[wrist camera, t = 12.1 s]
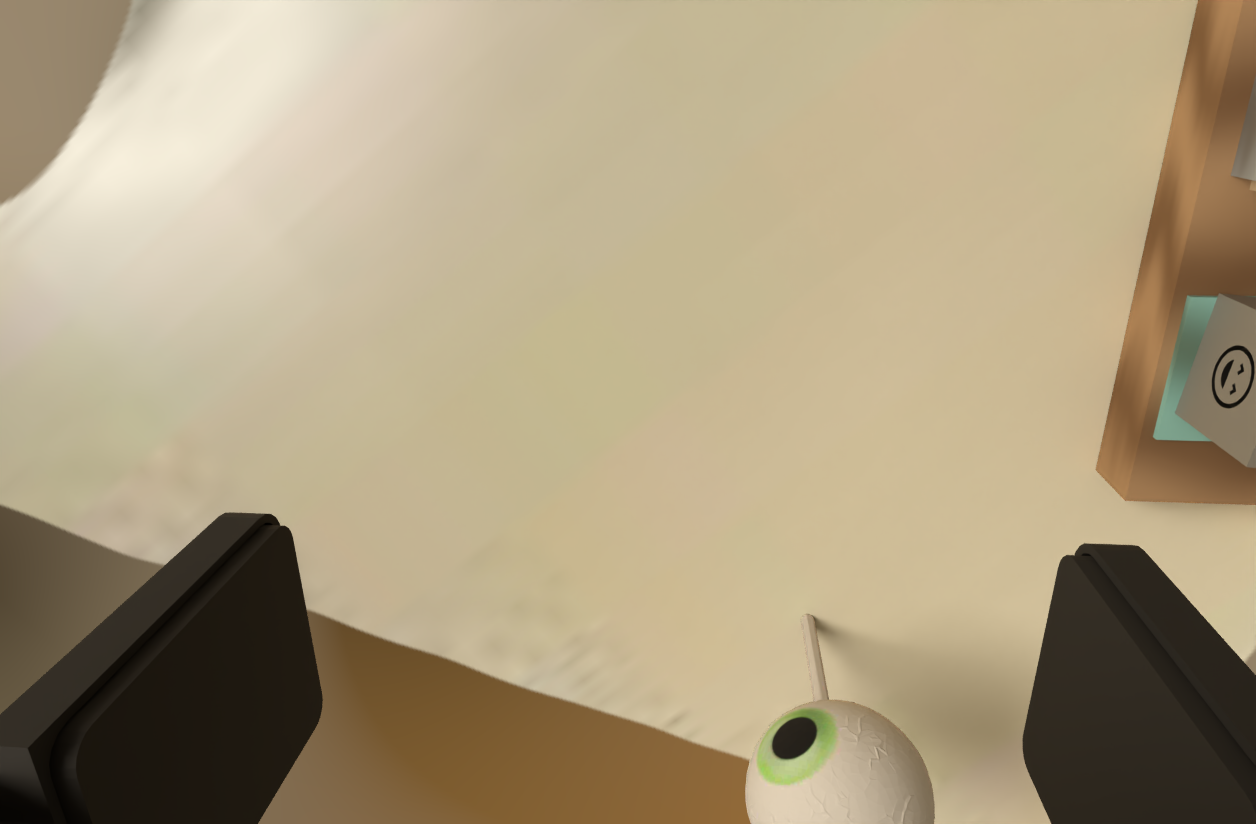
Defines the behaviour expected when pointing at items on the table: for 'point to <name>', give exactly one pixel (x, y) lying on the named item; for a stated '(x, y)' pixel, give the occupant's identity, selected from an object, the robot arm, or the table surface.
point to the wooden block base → (1190, 271)
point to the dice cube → (1225, 379)
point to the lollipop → (835, 763)
